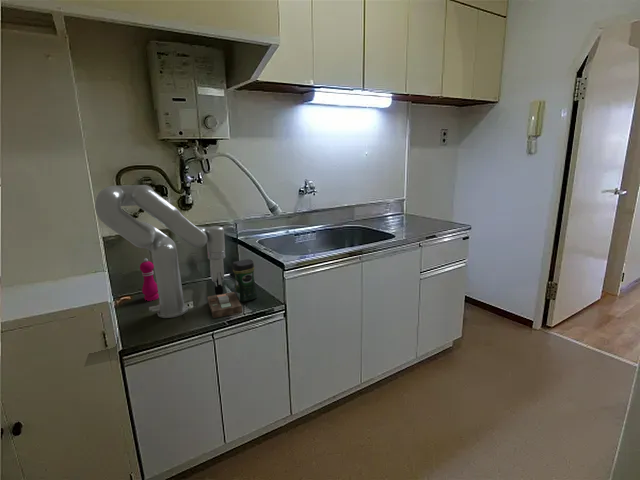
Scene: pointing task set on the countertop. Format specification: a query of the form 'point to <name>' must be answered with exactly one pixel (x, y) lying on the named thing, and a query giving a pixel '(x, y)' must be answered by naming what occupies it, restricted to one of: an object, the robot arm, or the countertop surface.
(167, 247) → the robot arm
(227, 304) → the sage key
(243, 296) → the coffee jar
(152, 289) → the pepper mill
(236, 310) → the keypad
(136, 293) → the countertop surface
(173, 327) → the countertop surface
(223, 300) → the grey key
